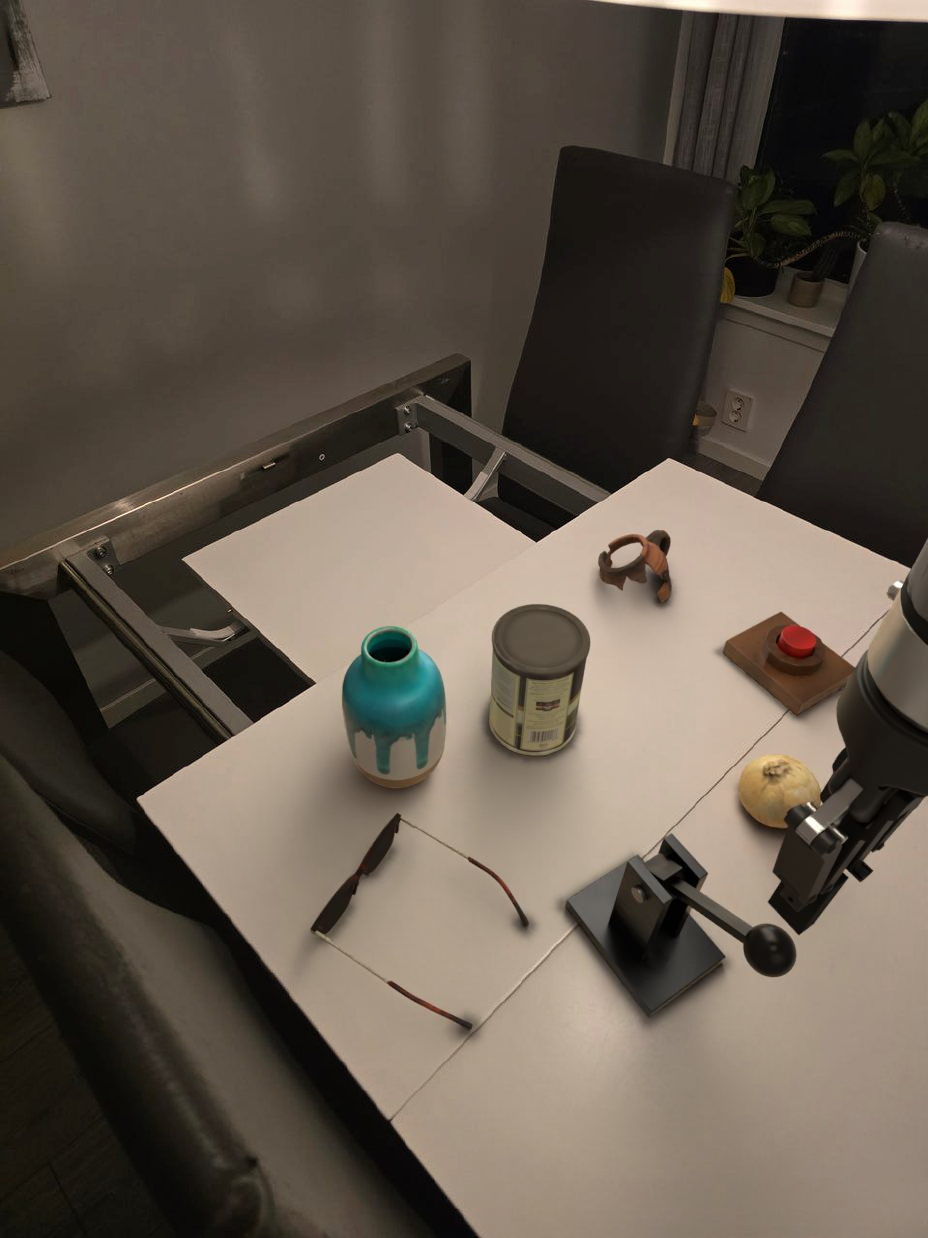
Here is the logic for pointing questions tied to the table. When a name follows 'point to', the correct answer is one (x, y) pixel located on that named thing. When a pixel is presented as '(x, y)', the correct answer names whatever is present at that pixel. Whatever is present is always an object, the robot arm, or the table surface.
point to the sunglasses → (368, 866)
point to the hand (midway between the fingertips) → (790, 912)
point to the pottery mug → (639, 561)
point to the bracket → (648, 928)
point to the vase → (394, 709)
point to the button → (796, 641)
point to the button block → (788, 665)
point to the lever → (730, 922)
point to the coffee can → (537, 678)
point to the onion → (776, 788)
